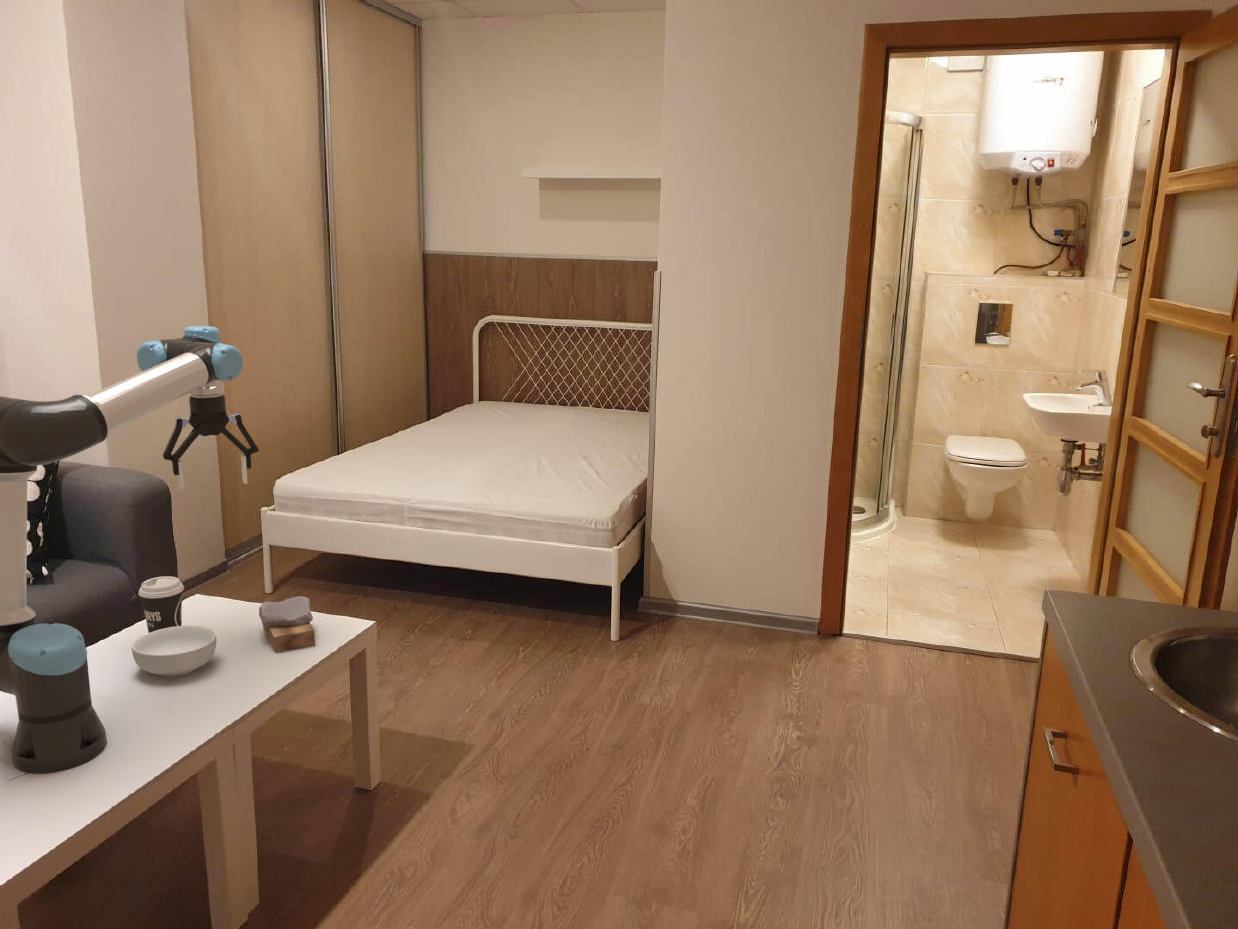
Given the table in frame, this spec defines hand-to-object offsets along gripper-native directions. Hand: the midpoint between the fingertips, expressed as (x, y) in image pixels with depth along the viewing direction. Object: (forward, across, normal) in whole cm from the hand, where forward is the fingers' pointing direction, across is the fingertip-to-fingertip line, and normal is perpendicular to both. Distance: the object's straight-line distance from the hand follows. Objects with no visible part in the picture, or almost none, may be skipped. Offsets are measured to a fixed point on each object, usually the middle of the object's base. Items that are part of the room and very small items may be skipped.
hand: (214, 485), depth 222 cm
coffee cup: (+37, -13, 0) cm, 39 cm away
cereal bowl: (+37, -12, -16) cm, 42 cm away
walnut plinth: (+37, +13, -9) cm, 40 cm away
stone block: (+33, +13, -8) cm, 36 cm away
